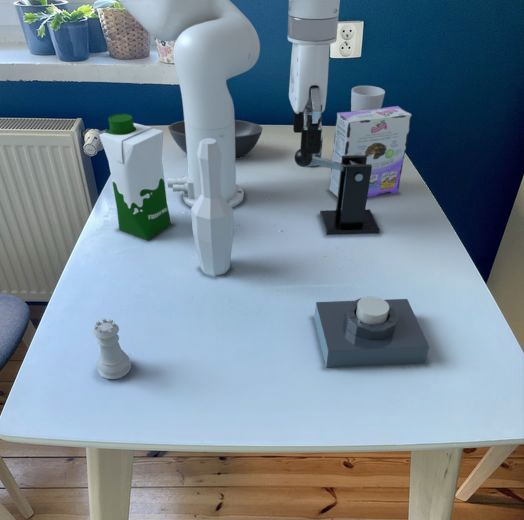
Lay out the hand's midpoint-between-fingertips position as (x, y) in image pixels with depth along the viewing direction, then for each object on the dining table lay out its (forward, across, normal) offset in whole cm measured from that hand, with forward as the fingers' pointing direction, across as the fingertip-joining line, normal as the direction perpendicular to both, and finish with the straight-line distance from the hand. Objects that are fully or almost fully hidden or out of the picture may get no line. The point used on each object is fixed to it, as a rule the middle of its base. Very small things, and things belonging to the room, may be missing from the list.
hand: (305, 142), depth 93 cm
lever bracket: (+16, 0, +9) cm, 19 cm away
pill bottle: (+16, -30, +6) cm, 35 cm away
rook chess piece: (+16, +38, -31) cm, 51 cm away
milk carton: (+16, -1, -30) cm, 34 cm away
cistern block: (+17, +34, +5) cm, 38 cm away
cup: (+16, -43, +21) cm, 51 cm away
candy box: (+17, -14, +15) cm, 27 cm away
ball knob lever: (+6, 0, +4) cm, 7 cm away
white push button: (+12, +34, +5) cm, 36 cm away
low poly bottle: (+16, +14, -17) cm, 27 cm away
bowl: (+16, -36, -16) cm, 43 cm away
